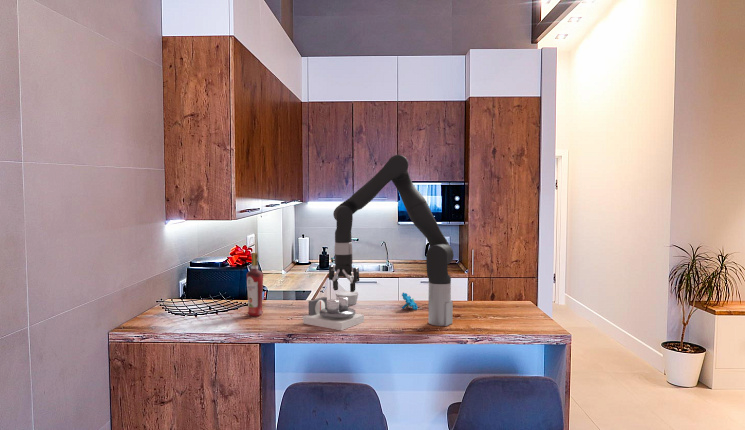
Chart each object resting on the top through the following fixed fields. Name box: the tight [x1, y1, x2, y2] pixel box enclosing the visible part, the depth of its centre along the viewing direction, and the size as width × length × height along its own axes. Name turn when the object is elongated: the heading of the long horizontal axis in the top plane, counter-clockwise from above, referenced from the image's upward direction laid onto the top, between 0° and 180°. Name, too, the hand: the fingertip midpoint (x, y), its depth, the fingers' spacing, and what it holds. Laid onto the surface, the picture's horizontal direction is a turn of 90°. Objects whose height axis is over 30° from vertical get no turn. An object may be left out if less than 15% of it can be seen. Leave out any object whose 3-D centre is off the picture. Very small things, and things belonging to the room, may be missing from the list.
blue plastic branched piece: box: [401, 292, 419, 311], centre depth 244 cm, size 11×6×10 cm
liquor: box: [245, 252, 264, 318], centre depth 231 cm, size 7×7×28 cm
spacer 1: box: [327, 298, 339, 314], centre depth 215 cm, size 5×5×5 cm
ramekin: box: [335, 290, 359, 306], centre depth 255 cm, size 11×11×5 cm
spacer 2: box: [335, 297, 349, 311], centre depth 220 cm, size 5×5×5 cm
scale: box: [302, 296, 365, 331], centre depth 218 cm, size 20×16×9 cm
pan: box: [320, 307, 356, 318], centre depth 217 cm, size 15×15×1 cm
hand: (344, 291), depth 220 cm, fingers open, 8 cm apart
